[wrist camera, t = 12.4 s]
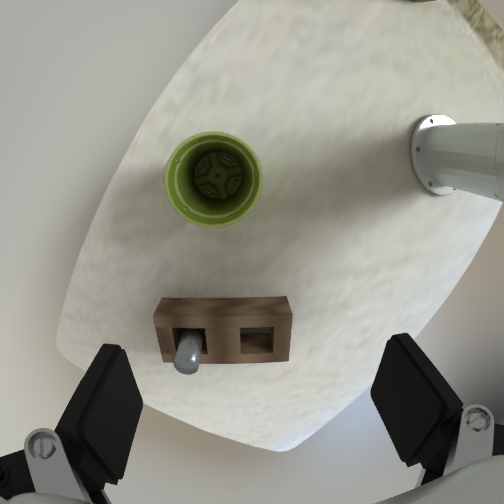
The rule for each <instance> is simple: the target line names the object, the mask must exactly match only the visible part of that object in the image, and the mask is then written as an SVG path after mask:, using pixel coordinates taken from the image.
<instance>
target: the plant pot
mask: <svg viewBox="0 0 504 504" xmlns="http://www.w3.org/2000/svg"><path fill="white" fill-rule="evenodd" d="M224 156H226V157H228V158H229V159H231V160H232V163H230V162H229V161H227V160H225V159H223V158H222V157H224ZM203 162H205V164H204V166H203V167H202V169H201V171H200V172H199V168H200V166H201V164H202V163H203ZM216 174H220V177H219V178H217V177H216ZM235 180H237V181H238V182H237V183H236V186H235V188H234V189H231V187H232V186H233V184H234V182H235ZM262 183H263V176H262V169H261V165H260V162H259V160H258V158H257V156H256V154H255V152H254V151H253V150H252V149H251V147H250V146H249V145H248V144H246V143H245V142H244V141H243V140H241V139H239V138H238V137H236V136H233V135H231V134H228V133H223V132H204V133H200V134H196V135H194V136H192V137H190V138H188V139H186V140H185V141H184V142H182V143H181V144H180V145H179V146H178V147H177V148H176V149H175V150H174V152H173V153H172V155H171V157H170V159H169V161H168V163H167V166H166V169H165V176H164V184H165V190H166V194H167V197H168V200H169V202H170V204H171V206H172V207H173V208H174V210H175V211H176V212H177V213H178V214H179V215H180V216H181V217H182V218H184V219H185V220H187V221H188V222H190V223H192V224H195V225H197V226H201V227H207V228H220V227H225V226H228V225H231V224H234V223H236V222H237V221H239V220H241V219H242V218H244V217H245V216H246V215H247V214H248V213H249V212H250V211H251V210H252V208H253V207H254V206H255V204H256V202H257V200H258V198H259V196H260V193H261V189H262ZM205 188H206V189H208V190H209V191H211V192H212V193H214V194H209V193H207V192H205V190H204V189H205Z"/></svg>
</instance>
